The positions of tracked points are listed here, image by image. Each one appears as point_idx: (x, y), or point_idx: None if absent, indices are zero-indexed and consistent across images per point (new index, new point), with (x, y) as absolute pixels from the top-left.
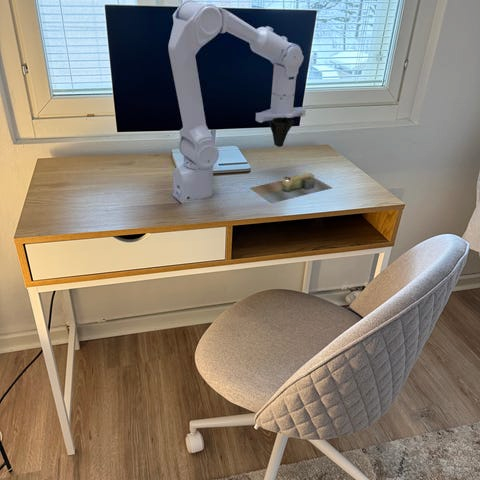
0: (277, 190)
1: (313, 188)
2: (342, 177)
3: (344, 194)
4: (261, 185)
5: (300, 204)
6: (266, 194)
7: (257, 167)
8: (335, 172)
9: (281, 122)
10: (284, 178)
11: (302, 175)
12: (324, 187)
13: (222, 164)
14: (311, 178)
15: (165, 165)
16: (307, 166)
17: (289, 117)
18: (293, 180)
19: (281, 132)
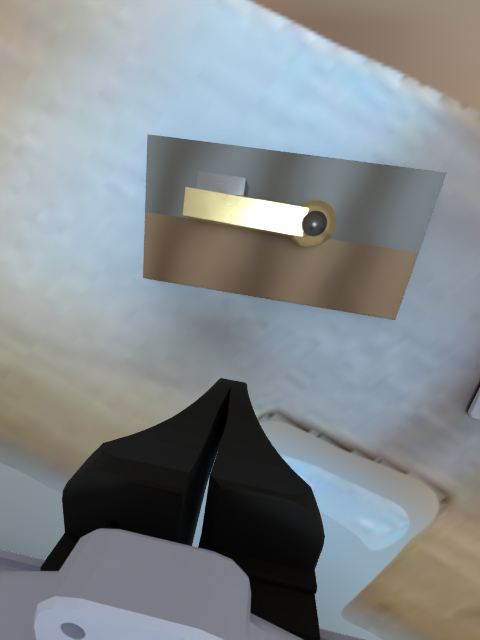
0: (335, 245)
1: None
2: (42, 218)
3: (127, 103)
4: (345, 309)
5: (322, 138)
6: (395, 243)
7: None
8: (38, 261)
9: (248, 528)
10: (320, 236)
11: (232, 214)
12: (172, 159)
13: None
14: (204, 188)
15: (416, 563)
16: (89, 345)
17: (201, 553)
18: (294, 207)
19: (243, 431)
